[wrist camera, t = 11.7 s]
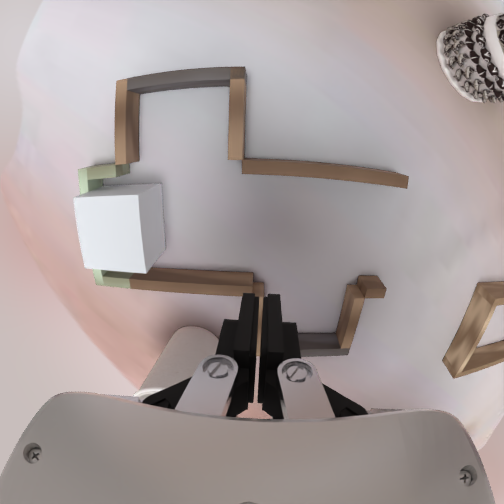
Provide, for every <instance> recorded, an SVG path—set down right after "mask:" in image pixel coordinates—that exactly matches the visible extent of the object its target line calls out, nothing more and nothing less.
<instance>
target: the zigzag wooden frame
mask: <svg viewBox="0 0 504 504" xmlns="http://www.w3.org/2000/svg"><path fill="white" fill-rule="evenodd" d="M246 82H247V74H246V69H245V67H213V68H198V69H186V70H177V71H169V72H161V73H155V74H149V75H143V76H137V77H132V78H127V79H123V80H118V81H117V82H116V98H115V163H113V164H104V165H96V166H90V167H86V168H82V169H78V176H79V188H80V195H81V194H84V193H86V192H89V191H92V190H94V189H97V188H99V187H102V186H103V179H102V178H114V177H119V176H122V175H125V174H128V173H130V170H129V163H133V162H137V161H139V99H140V94H144V93H150V92H158V91H166V90H175V89H185V88H198V87H218V86H230V98H229V134H228V160H242V174H261V175H283V176H299V177H313V178H325V179H336V180H346V181H355V182H363V183H371V184H379V185H386V186H393V187H400V188H406V189H407V186H408V178H409V176H406V175H402V174H399V173H396V172H391V171H384V170H378V169H371V168H364V167H357V166H349V165H340V164H331V163H321V162H309V161H296V160H280V159H258V158H244V150H245V114H246ZM93 274H94V278H95V282H96V285H101V286H110V287H120V288H130V289H141V290H152V291H164V292H177V293H191V294H206V295H224V296H243V293H255V296H256V297H259V316H258V335H257V352H256V356H260V343H261V326H262V310H263V297H264V283H261V282H253V272H229V271H207V270H187V269H169V268H152V267H151V268H150V270H149V271H148V272H147V273H146V274H145V273H133V272H121V271H110V270H99V269H93ZM386 289H387V288H386V287H385V286H384V284H383V283H382V282H381V280H380V279H379V278H378V276H364V275H359V276H358V281H357V285H347V288H346V292H345V297H344V301H343V306H342V310H341V314H340V318H339V322H338V326H337V330H336V333H298V339H299V346H300V353H301V357H313V356H340V355H348V353H349V350H350V347H351V344H352V341H353V337H354V334H355V331H356V328H357V324H358V321H359V317H360V314H361V310H362V307H363V303H364V299H365V298H384V296H385V292H386Z"/></svg>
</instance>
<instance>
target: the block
mask: <svg viewBox="0 0 504 504" xmlns="http://www.w3.org/2000/svg"><path fill="white" fill-rule="evenodd" d="M73 200H74V209H75V216H76V223H77V229H78V235H79V241H80V247H81V252H82V257H83V261H84V266H85V268H88V269H99V270H110V271H121V272H133V273H145V274H146V273H147V272H148V271H149V270H150V268H151V267H152V266H153V264H154V263H155V262H156V261H157V259H158V258H159V257H160V256H161V254H162V253H163V252H164V251H165V249H166V244H165V232H164V217H163V199H162V183H154V184H128V185H109V186H102V187H99V188H97V189H94V190H92V191H89V192H86V193H84V194H81V195H79V196H77V197H74V198H73Z"/></svg>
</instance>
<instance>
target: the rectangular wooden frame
mask: <svg viewBox="0 0 504 504" xmlns="http://www.w3.org/2000/svg"><path fill="white" fill-rule="evenodd" d="M497 305H504V282H483V283H477V286H476V289H475V291H474V294H473V297H472V299H471V302H470V304H469V307H468V309H467V311H466V314H465V316H464V318H463V320H462V323H461V325H460V327H459V329H458V331H457V333H456V335H455V337H454V339H453V341H452V343H451V345H450V347H449V349H448V351H447V353H446V355H445V356H444V358H443V360H442V361H443V362H444V364H445V366H446V367H447V369H448V370H449V372H450V374H451V375H452V377H453V379H454V378H458V377H461V376H464V375H467V374H470V373H473V372H476V371H479V370H482V369H485V368H488V367H490V366H493V365H496V364H498V363H501V362H503V361H504V340H503V341H499V342H496V343H493V344H489V345H486V346H482V347H478V348H476V347H477V345H478V343H479V341H480V339H481V337H482V335H483V333H484V332H485V330H486V328H487V325H488V323H489V321H490V319H491V317H492V315H493V313H494V310H495V308H496V306H497Z"/></svg>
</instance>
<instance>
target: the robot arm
mask: <svg viewBox="0 0 504 504" xmlns="http://www.w3.org/2000/svg"><path fill="white" fill-rule="evenodd" d="M258 316H259V297H256V296H255V293H243V296H242V302H241V308H240V314H239V320H229V319H224V321H223V325H222V329H221V333H220V337H219V341H218V345H217V349H216V354H215V355H211V356H208V357H206V358H204V359H203V360H202V361H201V362H200V363H199V365H198V367H197V369H196V371H195V372H194V374H193V376H192V377H190V378H188V379H186V380H183V381H181V382H179V383H177V384H175V385H173V386H170V387H168V388H166V389H163V390H161V391H159V392H157V393H154V394H152V395H150V396H148V397H146V398H145V399H140V398H139V397H135V396H116V395H105V394H97V393H89V392H65V393H60V394H57V395H55V396H53V397H52V398H50V399H49V400H48V401H47V402H46V403H45V404H44V405H43V406H42V407H41V408H40V410H39V411H38V412H37V413H36V415H35V416H34V417H33V419H32V420H31V422H30V423H29V425H28V426H27V428H26V429H25V431H24V432H23V434H22V436H21V438H20V439H19V441H18V443H17V444H16V446H15V448H14V450H13V452H12V454H11V456H10V458H9V460H8V461H7V464H6V466H5V467H4V469H3V472H2V474H1V476H0V504H495V501H494V497H493V493H492V490H491V487H490V484H489V481H488V478H487V475H486V472H485V469H484V466H483V464H482V461H481V458H480V456H479V454H478V452H477V449H476V447H475V445H474V443H473V441H472V439H471V437H470V435H469V434H468V432H467V430H466V429H465V427H464V426H463V424H462V423H461V422H460V421H459V420H458V419H457V418H456V417H455V416H454V415H452V414H450V413H448V412H444V411H440V410H431V409H411V410H395V409H373V408H372V409H371V410H370V411H366V410H365V409H364V408H363V407H362V406H360V405H358V404H357V403H355V402H353V401H351V400H350V399H348V398H346V397H345V396H343V395H341V394H339V393H338V392H336V391H334V390H333V389H331V388H329V387H328V386H326V385H324V384H323V383H322V382H321V380H320V377H319V375H318V372H317V370H316V368H315V366H314V365H313V364H312V363H310V362H309V361H306V360H304V359H301V353H300V346H299V339H298V332H297V325H296V323H291V322H282V314H281V301H280V294H268V297H263V310H262V326H261V343H260V363H259V383H258V403H263V404H262V410H264V411H265V412H267V413H268V414H269V415H270V416H271V419H254V418H238V414H240V413H241V412H243V411H245V410H248V403H253V399H254V384H255V368H256V352H257V335H258Z"/></svg>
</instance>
